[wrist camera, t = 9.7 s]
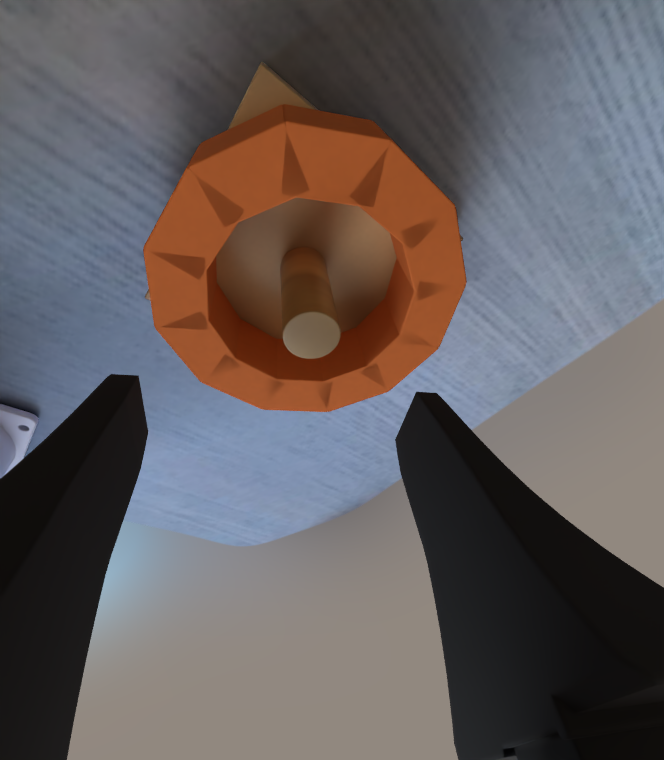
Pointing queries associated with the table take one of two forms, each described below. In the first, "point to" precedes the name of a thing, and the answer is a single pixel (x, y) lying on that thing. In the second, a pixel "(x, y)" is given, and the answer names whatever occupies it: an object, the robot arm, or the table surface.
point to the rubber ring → (269, 189)
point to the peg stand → (302, 255)
